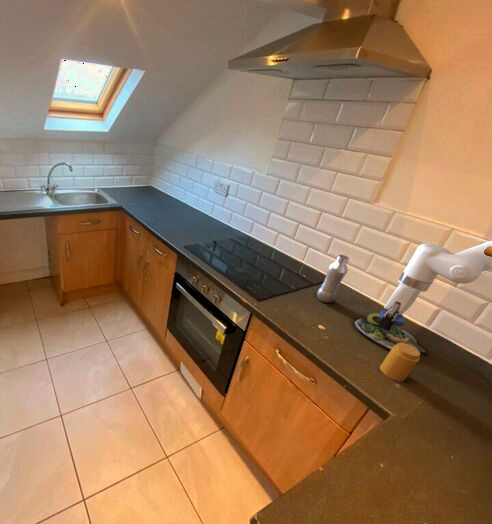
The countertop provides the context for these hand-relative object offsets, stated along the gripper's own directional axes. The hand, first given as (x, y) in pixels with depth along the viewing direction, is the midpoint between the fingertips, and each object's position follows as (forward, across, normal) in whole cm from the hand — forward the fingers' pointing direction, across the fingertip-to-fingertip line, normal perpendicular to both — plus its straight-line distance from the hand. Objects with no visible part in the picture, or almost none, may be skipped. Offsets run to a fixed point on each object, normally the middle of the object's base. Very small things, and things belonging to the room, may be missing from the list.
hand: (387, 324), depth 104 cm
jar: (+4, +20, +9) cm, 23 cm away
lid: (-3, 0, 0) cm, 3 cm away
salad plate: (+5, 0, 0) cm, 5 cm away
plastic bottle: (+5, -2, -22) cm, 23 cm away
